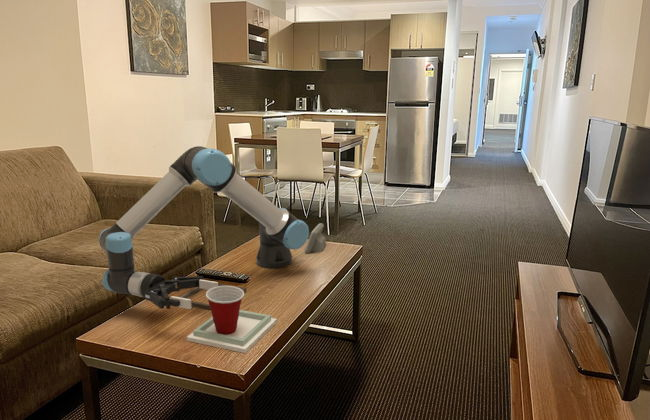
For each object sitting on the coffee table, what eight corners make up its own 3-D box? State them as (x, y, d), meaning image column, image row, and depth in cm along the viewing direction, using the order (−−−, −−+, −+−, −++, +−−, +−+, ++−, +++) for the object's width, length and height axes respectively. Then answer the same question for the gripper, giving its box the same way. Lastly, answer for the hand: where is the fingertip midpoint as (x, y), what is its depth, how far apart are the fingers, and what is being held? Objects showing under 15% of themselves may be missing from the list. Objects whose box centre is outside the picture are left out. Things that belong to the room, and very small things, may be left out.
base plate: (224, 312, 148) (223, 304, 147) (277, 322, 141) (276, 314, 141) (187, 340, 131) (186, 332, 130) (245, 353, 124) (245, 344, 124)
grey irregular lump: (314, 242, 221) (314, 221, 218) (331, 245, 217) (331, 223, 215) (298, 252, 206) (298, 230, 204) (316, 255, 203) (316, 232, 200)
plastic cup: (233, 342, 127) (231, 302, 124) (200, 336, 131) (197, 297, 128) (252, 325, 137) (251, 287, 134) (221, 319, 141) (219, 282, 138)
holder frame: (205, 284, 170) (205, 281, 170) (246, 291, 164) (246, 287, 164) (174, 303, 154) (174, 299, 154) (219, 312, 148) (218, 307, 148)
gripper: (174, 282, 157) (228, 290, 149) (118, 313, 134) (178, 325, 127) (172, 261, 155) (226, 269, 148) (115, 289, 132) (176, 299, 125)
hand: (204, 295), depth 137 cm, fingers open, 13 cm apart
